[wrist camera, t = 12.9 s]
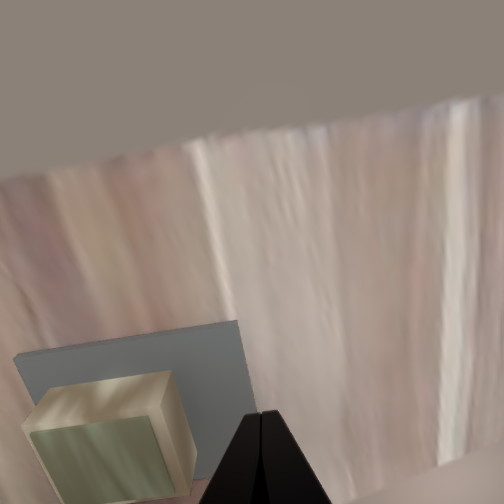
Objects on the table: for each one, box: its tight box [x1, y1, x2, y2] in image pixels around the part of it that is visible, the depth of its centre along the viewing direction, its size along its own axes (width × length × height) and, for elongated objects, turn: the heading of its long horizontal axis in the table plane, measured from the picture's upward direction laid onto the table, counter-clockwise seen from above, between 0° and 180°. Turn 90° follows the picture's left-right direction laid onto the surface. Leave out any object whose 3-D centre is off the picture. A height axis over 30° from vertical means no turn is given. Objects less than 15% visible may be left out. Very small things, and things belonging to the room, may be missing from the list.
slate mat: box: [13, 320, 257, 480], centre depth 24 cm, size 14×12×1 cm
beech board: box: [21, 370, 197, 504], centre depth 22 cm, size 3×7×8 cm
